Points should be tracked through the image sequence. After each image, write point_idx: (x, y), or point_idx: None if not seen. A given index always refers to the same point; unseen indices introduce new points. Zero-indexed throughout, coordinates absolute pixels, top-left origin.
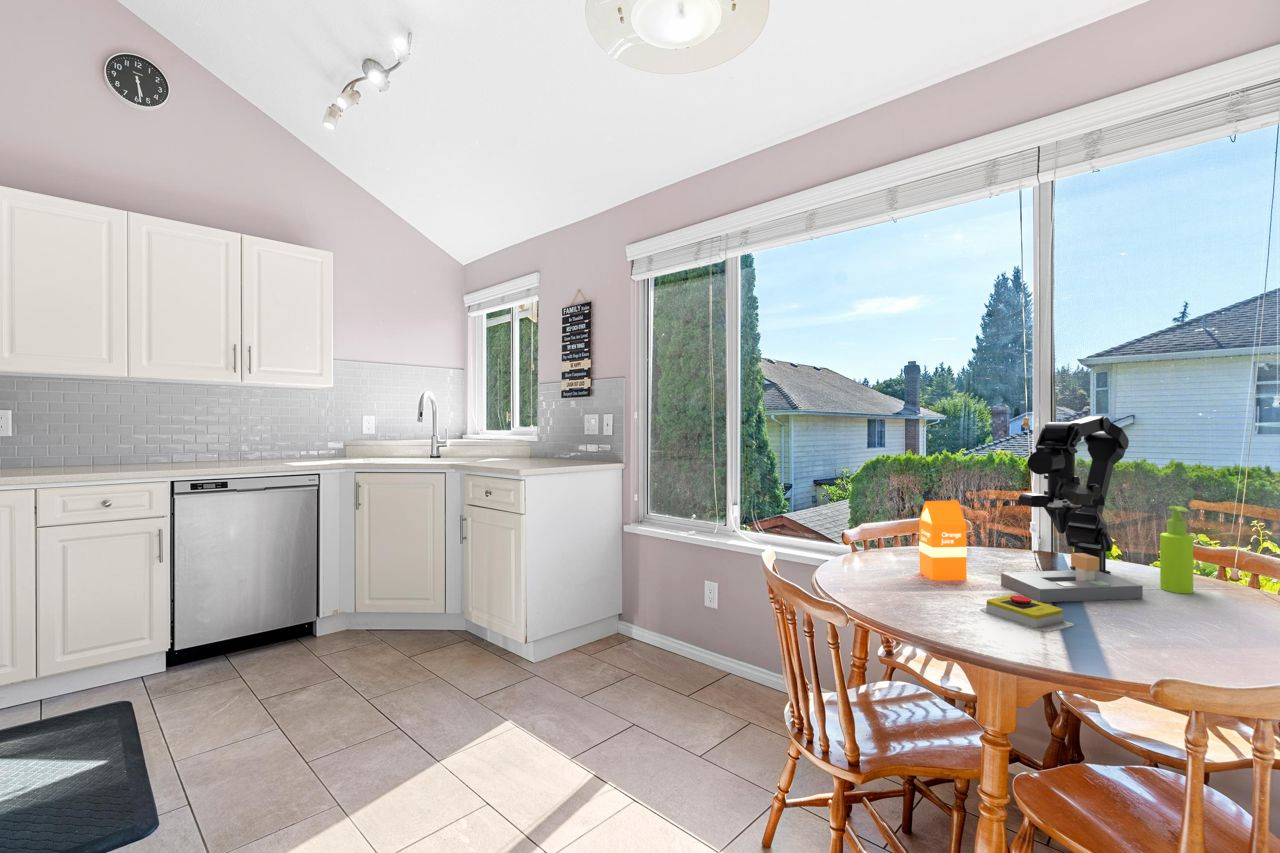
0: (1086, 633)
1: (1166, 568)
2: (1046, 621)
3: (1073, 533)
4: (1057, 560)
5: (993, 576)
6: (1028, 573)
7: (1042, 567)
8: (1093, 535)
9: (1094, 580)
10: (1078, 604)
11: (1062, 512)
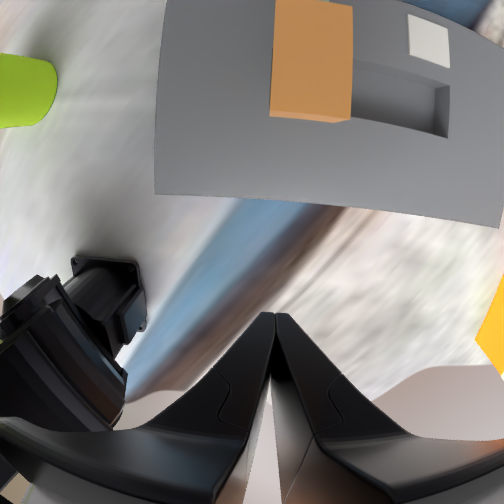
0: None
1: (13, 74)
2: None
3: (106, 383)
4: (132, 387)
5: (432, 296)
6: (444, 197)
7: (215, 354)
8: (49, 317)
9: None
10: (414, 3)
11: (359, 450)
